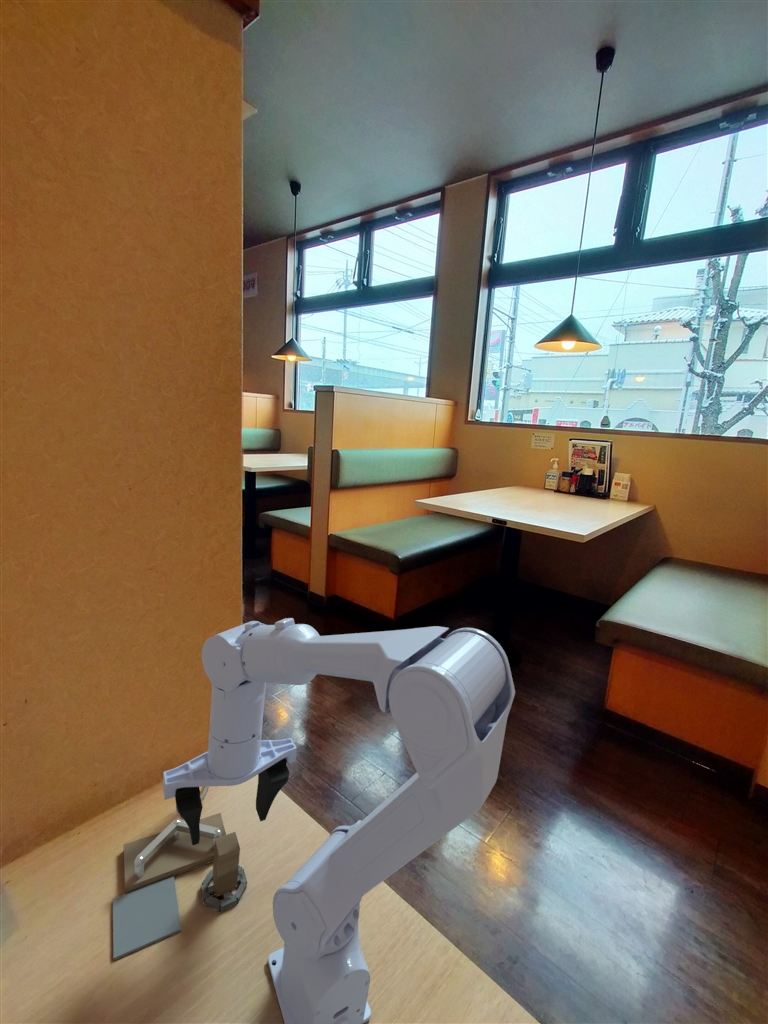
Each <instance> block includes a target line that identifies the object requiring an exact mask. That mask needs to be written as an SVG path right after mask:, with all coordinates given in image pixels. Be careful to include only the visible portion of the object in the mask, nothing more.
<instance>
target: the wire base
mask: <svg viewBox="0 0 768 1024" xmlns="http://www.w3.org/2000/svg"><path fill="white" fill-rule="evenodd" d="M223 821H224V820H223V818H222V812H218V813H216V814H213V815H210V816H206V817H203V818H200V824H204V825H208V826H212V827H217V828H220V830H221V831H222V835H221V837H222V836H225V835H227V834H226V830H225V825H224V822H223ZM161 832H162V831H160V832H157V833H154V834H152V835H149V836H145V837H142V838H140V839H136V840H133V841H130V842H127V843H126V842H125V844H123V871H124V876H123V877H124V895H125V894H128V893H130V892H133V891H136V890H138V889H141V888H143V887H146V886H149V885H151V884H154V883H157V882H159V881H162V880H165V879H167V878H170V877H173V876H174V877H175V876H178V875H180V874H184V873H185V872H187V871H190V870H193V869H197V868H199V867H201V866H202V867H203V866H204V865H208V864H209V863H212V862H214V850H213V848H212V846H213V839H210V838H206V837H202V836H200V840H199V844H196V845H192V841H191V836H190V834H189V833H185V832H181V831H180V838H179V839H178V840H172V836H171V837H170V838H169V839H168V840H167V841H166V842H165V843H164V844H163V845H162V846H161V847H160V848H159V849H158V850H157V851H156V852H155V853H154V854H153V855H152V856H151V857H150V858H149V859H148V860H147V862H146V863H145V864H144V875H143V876H142V877H141V878H139V879H136V878H135V877H134V875H135V864H134V861H135V859H136V857H137V856H138V855H139V854H140V853H141V852H142V851H143V850H144V849H145V848H146V847H147V846H148V845H149V844H150V843H151V842H152V841H153V840H154V839H155V838H156V837H157V836H158V835H159V834H160V833H161Z"/></svg>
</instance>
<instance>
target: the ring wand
mask: <svg viewBox="0 0 768 1024" xmlns="http://www.w3.org/2000/svg"><path fill="white" fill-rule="evenodd" d="M240 853H241V848H240V843H239V840H238V836H237V832H236V831H234V832H231V833H228V834H226V835H225V836H222V837H219V838H216V839H215V847H214V861H212V862H213V865H212V869H210V870H209V871H208V873H207V875H205V877H204V879H203V881H202V882H201V885H200V892H201V893H200V894H201V899H202V904H203V905H204V907H206V908H209V909H211V910H214V911H216V912H219V911H220V912H223V911H225V910H228V909H230V908H232V907H234V906H237V903H239V902H240V901H241V899H242V897H243V895H244V894H245V892H246V890H247V889H248V888H247V886H248V880H247V876H246V872H245V868H243V866H241V865H239V864H240ZM211 884H212V885H211ZM238 885H239V886H238ZM234 890H236V891H235V893H234V895H231V892H232V891H234ZM213 896H215V897H213ZM219 896H222V899H221V900H220V899H218V898H217V897H219Z"/></svg>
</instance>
